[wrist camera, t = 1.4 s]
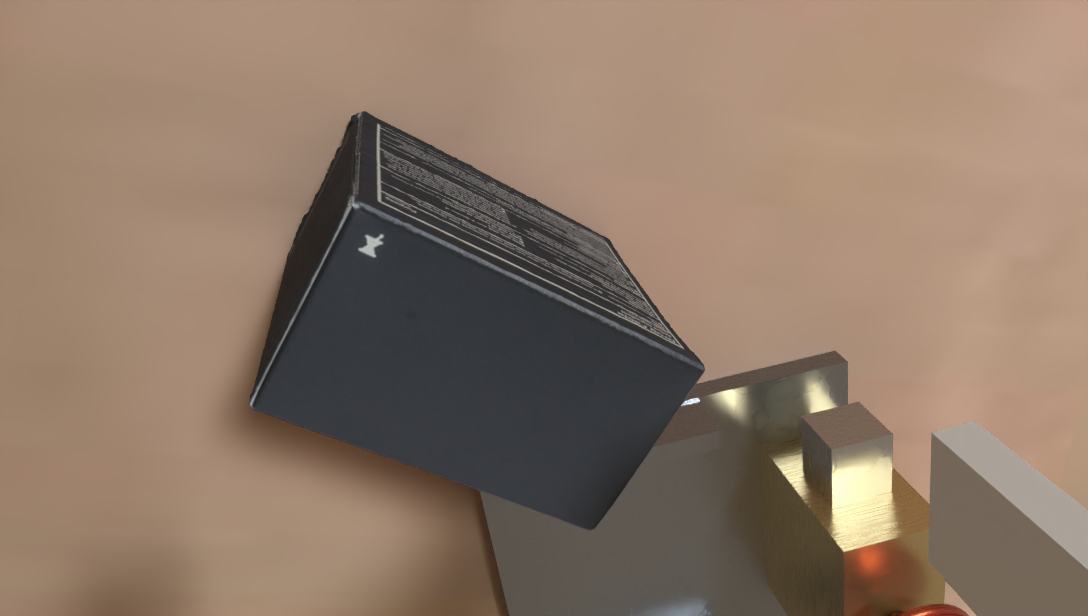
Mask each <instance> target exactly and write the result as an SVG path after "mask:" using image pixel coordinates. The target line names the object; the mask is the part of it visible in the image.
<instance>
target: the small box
mask: <svg viewBox="0 0 1088 616" xmlns="http://www.w3.org/2000/svg"><path fill="white" fill-rule="evenodd" d="M704 371H705V368H704V365H703V363H702V362H701V361H700V359H699V358H698V357H697V356H696V355H695V354H694V353H693V352H692V351H691V350H690V349H689V348H688V347H687V345H686V344H685V343H684V342H683V341H682V340H681V338H679V337H678V335H677V334H676V333H675V331H674V330H673V329H672V328H671V327H670V324H669V323H668V322H667V321H666V320H665V319H664V317H663V316H662V315H661V313H660V312H659V310H658V308H657V307H656V306H655V305H654V303H653V302H652V301H651V299H650V298H649V296H648V295H647V294H646V292H645V291H644V290H643V288H642V287H641V286H640V284H639V283H638V281H637V280H636V278H635V277H634V276H633V275H632V273H631V272H630V270H629V269H628V267H627V266H626V265H625V263H624V262H623V260H622V259H621V257H620V256H619V254H618V252H617V251H616V250H615V248H614V247H613V245H612V243H611V241H610V240H609V239H608V238H606V237H604V236H602V235H600V234H598V233H596V232H594V231H592V230H591V229H589V228H587V227H585V226H584V225H582V224H580V223H578V222H576V221H574V220H572V219H570V218H568V217H566V216H564V215H562V214H561V213H559V212H557V211H555V210H553V209H551V208H549V207H547V206H545V205H544V204H542V203H540V202H538V201H537V200H536V199H533V198H530V197H528V196H526V195H525V194H523V193H520V192H518V191H517V190H515V189H513V188H511V187H509V186H507V185H505V184H503V183H501V182H499V181H498V180H496V179H494V178H492V177H490V176H488V175H487V174H484V173H482V172H480V171H479V170H477V169H475V168H474V167H472V166H471V165H469V164H466V163H464V162H462V161H460V160H458V159H457V158H454V157H452V156H450V155H448V154H446V153H444V152H443V151H441V150H438V149H436V148H435V147H433V146H432V145H429V144H427V143H425V142H423V141H421V140H419V139H418V138H415V137H413V136H411V135H409V134H407V133H405V132H403V131H401V130H399V129H397V128H395V127H393V126H391V125H389V124H387V123H385V122H383V121H381V120H379V119H377V118H375V117H374V116H372V115H370V114H369V113H367V112H365V111H363V112H361V113H357V114H356V115H353V116H352V117H351V122H350V123H349V124H348V126H347V130H346V133H345V139H344V141H343V144H342V145H341V147H339V148H338V149H337V155H336V158H334V159H333V160H332V162H331V167H330V171H329V172H328V173H327V174H326V178H325V180H324V182H323V183H322V186H321V188H320V190H319V192H318V193H317V194H316V195H315V199H314V202H313V204H312V206H311V207H310V210H309V212H308V213H307V214H306V215H304V217H303V220H302V222H301V224H300V226H299V230H298V231H297V233H296V237H295V239H294V243H293V245H292V248H291V250H290V252H289V254H288V257H287V264H286V266H285V270H284V275H283V279H282V282H281V287H280V290H279V294H278V298H277V301H276V305H275V310H274V313H273V317H272V321H271V325H270V329H269V332H268V336H267V339H266V344H265V348H264V350H263V354H262V357H261V362H260V366H259V370H258V374H257V378H256V381H255V385H254V389H253V392H252V393H251V395H250V401H249V403H250V407H251V408H252V409H254V410H256V411H259V412H262V413H265V414H268V415H271V416H273V417H276V418H279V419H282V420H284V421H287V422H290V423H293V424H295V425H298V426H301V427H303V428H306V429H309V430H312V431H314V432H317V433H320V434H323V435H326V436H329V437H331V438H334V439H337V440H340V441H343V442H346V443H348V444H351V445H354V446H357V447H360V448H362V449H365V450H368V451H371V452H374V453H376V454H379V455H382V456H385V457H388V458H390V459H393V460H396V461H399V462H402V463H404V464H407V465H410V466H413V467H415V468H418V469H421V470H424V471H427V472H429V473H432V474H435V475H438V476H441V477H443V478H446V479H449V480H451V481H454V482H457V483H460V484H462V485H465V486H468V487H471V488H473V489H476V490H479V491H482V492H484V493H487V494H490V495H493V496H495V497H498V498H501V499H504V500H506V501H509V502H512V503H515V504H517V505H520V506H523V507H526V508H528V509H531V510H534V511H536V512H539V513H542V514H545V515H547V516H550V517H553V518H556V519H559V520H561V521H564V522H566V523H569V524H571V525H574V526H577V527H580V528H583V529H586V530H588V531H592V530H594V529H595V528H596V527H597V525H598V524H599V523H600V521H601V520H602V519H603V518H604V516H605V515H606V514H607V513H608V511H609V510H610V508H611V507H612V506H613V504H614V503H615V501H616V500H617V498H618V497H619V495H620V494H621V493H622V491H623V490H624V489H625V487H626V485H627V484H628V482H629V481H630V479H631V478H632V477H633V475H634V474H635V472H636V471H637V469H638V468H639V466H640V465H641V464H642V462H643V461H644V460H645V458H646V457H647V455H648V454H649V452H650V450H651V449H652V447H653V446H654V444H655V443H656V441H657V440H658V439H659V437H660V436H661V434H662V433H663V431H664V430H665V428H666V427H667V426H668V424H669V423H670V421H671V420H672V418H673V417H674V415H675V414H676V413H677V411H678V410H679V408H680V407H681V405H682V404H683V402H684V401H685V399H686V398H687V396H688V395H689V393H690V392H691V390H692V389H693V388H694V386H695V385H696V383H697V381H698V380H699V378H700V377H701V376H702V374H703V373H704Z"/></svg>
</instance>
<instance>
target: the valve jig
mask: <svg viewBox="0 0 1088 616" xmlns="http://www.w3.org/2000/svg"><path fill="white" fill-rule="evenodd" d="M892 458H893V434H892V433H891V432H890V431H889V430H888V429H887V428H886V427H885V426H884V425H883V424H882V423H881V422H880V421H879V420H878V419H876V418H875V417H874V416H873V415H872V414H871V413H870V412H869V411H868V410H867V409H866V408H865V407H864V406H863V405H862V404H861V403H860V402H855V403H851V404H848V362H847V361H846V360H845V359H844V358H843V357H842V356H841V355H840V354H838V353H837V352H836V351H834V352H829V353H825V354H821V355H817V356H813V357H809V358H804V359H800V360H796V361H792V362H788V363H783V364H779V365H775V366H771V367H767V368H763V369H758V370H754V371H750V372H746V373H742V374H737V375H733V376H729V377H725V378H721V379H717V380H712V381H708V382H704V383H700V384H696V385H695V386H694V388H693V389H692V390H691V392H690V393H689V395H688V396H687V398H686V399H685V401H684V402H683V404H682V405H681V407H680V408H679V410H678V411H677V413H676V414H675V415H674V417H673V418H672V420H671V421H670V423H669V424H668V426H667V427H666V428H665V430H664V431H663V433H662V434H661V436H660V437H659V439H658V440H657V441H656V443H655V444H654V446H653V447H652V449H651V450H650V452H649V454H648V455H647V457H646V458H645V460H644V461H643V462H642V464H641V465H640V466H639V468H638V469H637V471H636V472H635V474H634V475H633V477H632V478H631V479H630V481H629V482H628V484H627V485H626V487H625V489H624V490H623V491H622V493H621V494H620V495H619V497H618V498H617V500H616V501H615V503H614V504H613V506H612V507H611V508H610V510H609V511H608V513H607V514H606V515H605V516H604V518H603V519H602V520H601V521H600V523H599V524H598V525H597V527H596V528H595V529H594V530H592V531H588V530H586V529H583V528H580V527H577V526H574V525H571V524H569V523H566V522H564V521H561V520H559V519H556V518H553V517H550V516H547V515H545V514H542V513H539V512H536V511H534V510H531V509H528V508H526V507H523V506H520V505H517V504H515V503H512V502H509V501H506V500H504V499H501V498H498V497H495V496H493V495H490V494H487V493H484V492H482V491H480V495H481V499H482V503H483V507H484V512H485V516H486V520H487V524H488V528H489V533H490V537H491V541H492V545H493V550H494V554H495V558H496V562H497V566H498V571H499V575H500V579H501V583H502V588H503V592H504V596H505V600H506V604H507V609H508V613H509V616H969V615H968V614H967V613H966V612H964V611H963V610H962V609H960V608H958V607H955V606H952V605H948V604H944V594H945V579H944V578H943V577H942V576H941V575H940V574H939V573H938V572H937V570H936V569H935V568H934V567H933V566H932V565H931V564H930V563H929V562H928V551H929V514H930V504H929V503H928V502H927V501H926V500H925V499H924V498H923V497H922V496H921V495H920V494H919V493H918V492H917V491H916V490H915V489H914V488H913V487H912V486H911V485H910V484H909V483H908V482H907V481H906V480H905V479H904V478H903V477H902V476H901V475H900V474H899V473H898V472H897V471H896V470H895V469H894V468H893V467H892Z"/></svg>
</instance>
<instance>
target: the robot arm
mask: <svg viewBox="0 0 1088 616" xmlns="http://www.w3.org/2000/svg"><path fill="white" fill-rule="evenodd" d="M928 562H929V563H930V564H931V565H932V566H933V567H934V568H935V569H936V570H937V572H938V573H939V574H940V575H941V576H942V577H943V578H944V579H945V581H946V582H947V583H948V584H949V585H950V586H951V587H952V588H953V589H954V591H955V592H956V593H957V594H958V595H959V596H960V597H961V598H962V599H963V601H964V602H965V603H966V604H967V605H968V606H969V607H970V608H971V610H972V611H973V612H974V613H975V614H976V615H977V616H1088V510H1086V509H1085V508H1084V507H1083V506H1081V505H1080V504H1079V503H1077V502H1076V501H1075V500H1074V499H1073V498H1071V497H1070V496H1069V495H1068V494H1066V493H1065V492H1064V491H1062V490H1061V489H1060V488H1059V487H1057V486H1056V485H1055V484H1054V483H1052V482H1051V481H1050V480H1049V479H1047V478H1046V477H1045V476H1044V475H1042V474H1041V473H1040V472H1039V471H1037V470H1036V469H1035V468H1034V467H1032V466H1031V465H1030V464H1028V463H1027V462H1026V461H1025V460H1023V459H1022V458H1021V457H1020V456H1018V455H1017V454H1016V453H1015V452H1013V451H1012V450H1011V449H1010V448H1008V447H1007V446H1006V445H1005V444H1003V443H1002V442H1001V441H1000V440H998V439H997V438H996V437H994V436H993V435H992V434H991V433H989V432H988V431H987V430H986V429H984V428H983V427H982V426H981V425H979V424H978V423H977V422H976V421H973V422H969V423H966V424H962V425H958V426H954V427H951V428H947V429H943V430H940V431H936V432H932V439H931V476H930V514H929V551H928Z"/></svg>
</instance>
